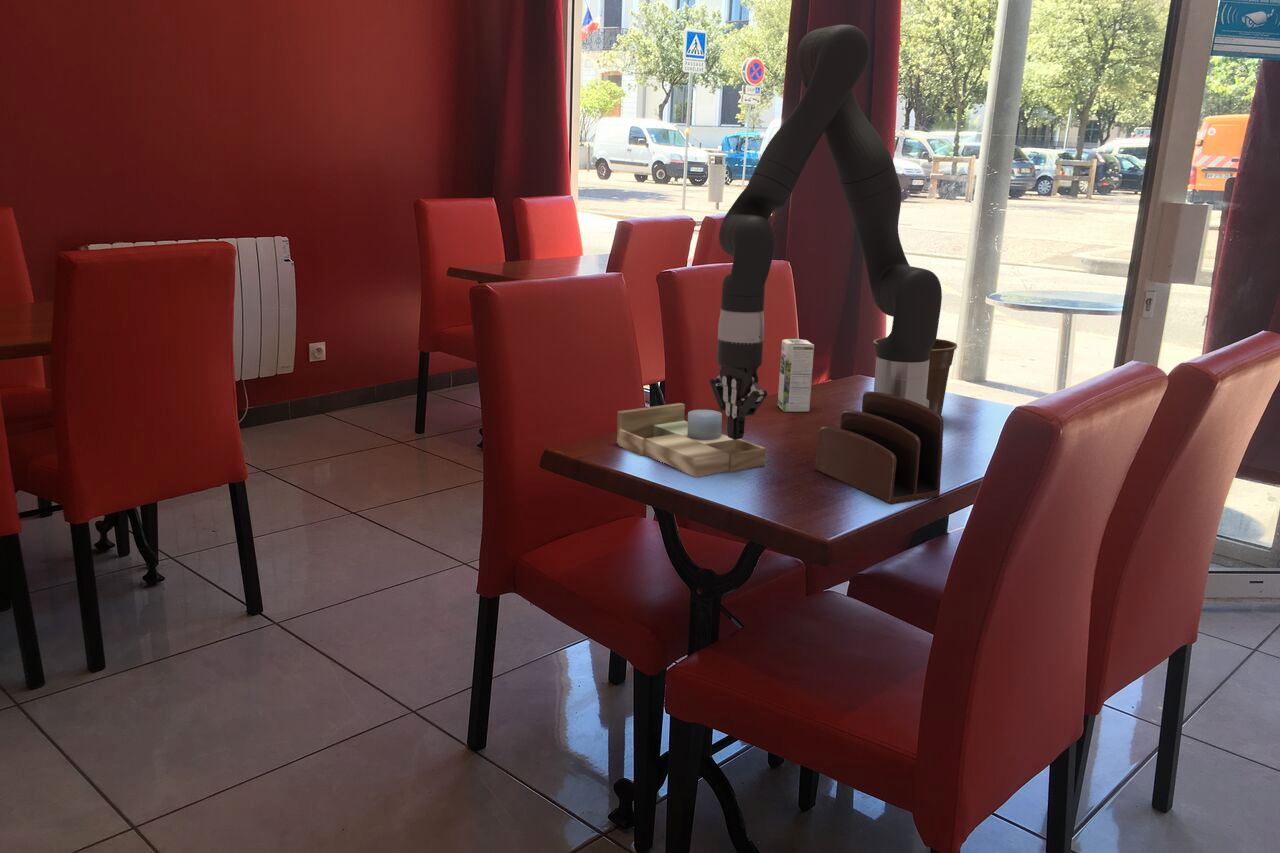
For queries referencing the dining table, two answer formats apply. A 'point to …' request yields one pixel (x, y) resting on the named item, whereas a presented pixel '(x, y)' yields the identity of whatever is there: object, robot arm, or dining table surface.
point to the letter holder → (885, 449)
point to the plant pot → (937, 372)
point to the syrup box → (795, 375)
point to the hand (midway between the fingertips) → (735, 438)
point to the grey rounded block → (704, 424)
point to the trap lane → (683, 442)
